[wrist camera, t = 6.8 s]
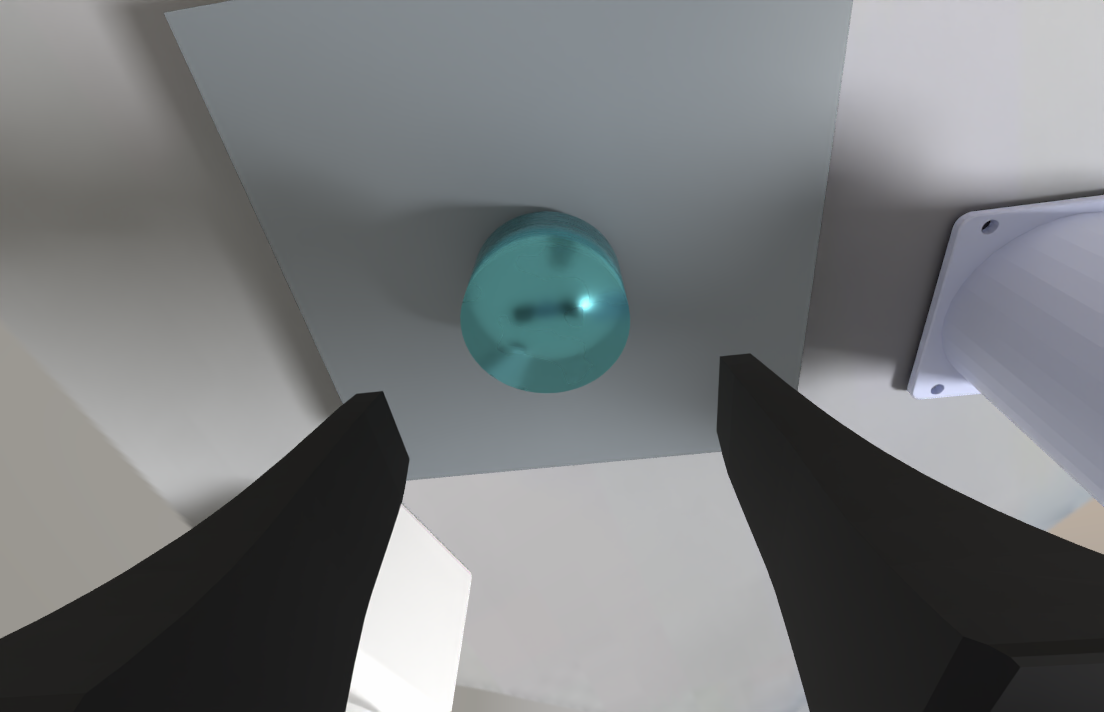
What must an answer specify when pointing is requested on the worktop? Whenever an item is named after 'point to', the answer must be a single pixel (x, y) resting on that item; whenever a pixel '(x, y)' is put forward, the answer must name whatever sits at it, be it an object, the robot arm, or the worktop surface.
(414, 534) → the container
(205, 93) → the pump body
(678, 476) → the worktop surface
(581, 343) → the plunger
